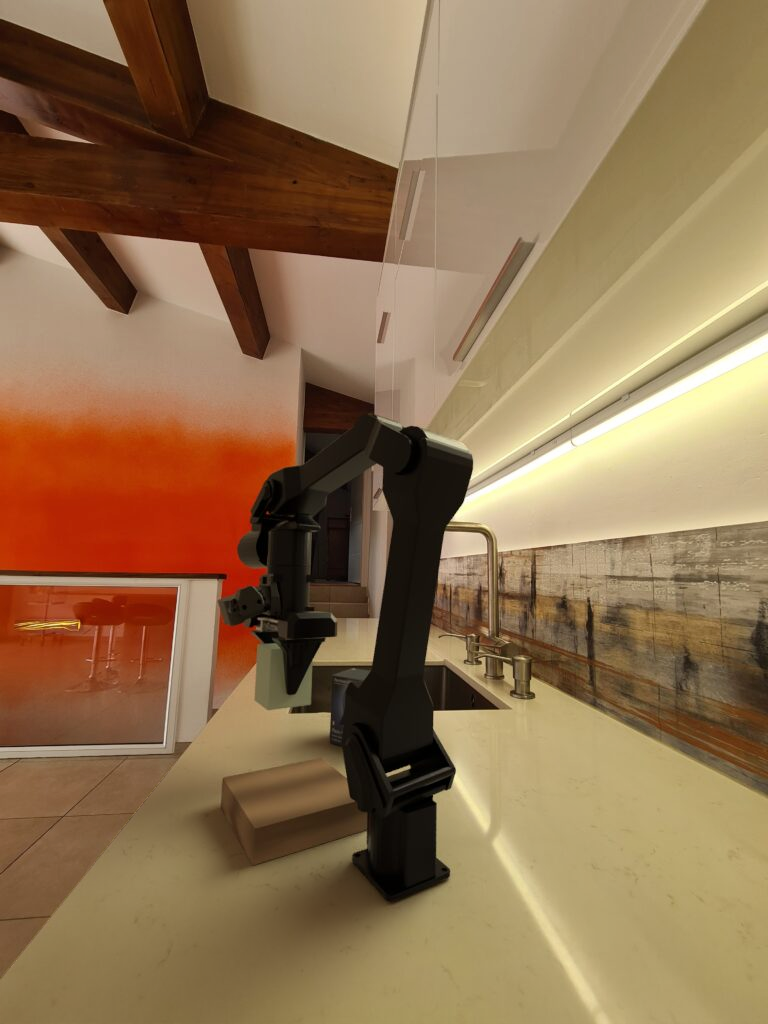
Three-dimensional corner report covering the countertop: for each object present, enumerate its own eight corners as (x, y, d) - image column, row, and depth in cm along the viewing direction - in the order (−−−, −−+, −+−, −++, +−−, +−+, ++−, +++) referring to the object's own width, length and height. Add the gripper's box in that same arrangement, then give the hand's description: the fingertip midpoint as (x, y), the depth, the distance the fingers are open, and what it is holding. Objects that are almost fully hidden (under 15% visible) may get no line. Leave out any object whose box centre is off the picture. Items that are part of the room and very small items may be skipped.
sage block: (310, 704, 57) (313, 646, 58) (267, 710, 54) (271, 649, 55) (294, 695, 61) (297, 642, 62) (254, 700, 58) (257, 644, 60)
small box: (326, 744, 70) (329, 673, 71) (348, 732, 75) (351, 667, 77) (387, 758, 65) (389, 682, 66) (406, 744, 71) (407, 674, 72)
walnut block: (369, 829, 46) (370, 797, 47) (252, 865, 40) (254, 828, 40) (320, 783, 56) (321, 757, 57) (220, 806, 50) (222, 777, 50)
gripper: (210, 567, 64) (202, 682, 61) (247, 561, 48) (238, 716, 46) (286, 569, 70) (281, 675, 67) (341, 565, 54) (337, 703, 52)
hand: (283, 689), depth 58 cm, fingers closed on sage block, 5 cm apart
